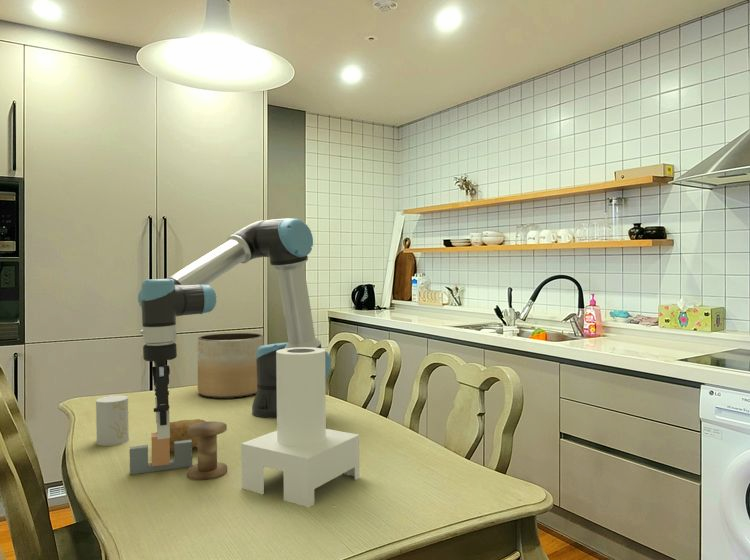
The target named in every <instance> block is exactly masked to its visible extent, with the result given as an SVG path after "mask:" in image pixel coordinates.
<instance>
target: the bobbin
mask: <svg viewBox="0 0 750 560" xmlns="http://www.w3.org/2000/svg"><path fill="white" fill-rule="evenodd" d="M227 427H228V426H227V424H226V423H225V422H222V421H210V420H209V421H206V422H200V423H196V424H192V425H190V426H188V427H187V434H188V435H191V436H197V444H198V445H197V463H196V464H194V465H192V466H190V467H188V469H187V477H188V478H189V479H191V480H199V481H203V480H204V481H205V480H206V481H207V480H212V479H213V480H214V479H217V478H221V477H222V476H225V475H226V473H227V472H228V465H227V464H226V463H223V462H219V461H218V439H217V438H218V437H217V436H218V435H220V434H224V433H225V432H226V431H227V430H228V428H227Z"/></svg>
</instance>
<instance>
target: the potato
mask: <svg viewBox="0 0 750 560" xmlns="http://www.w3.org/2000/svg"><path fill="white" fill-rule="evenodd" d="M200 422H207V421H206V420H203V419H200V418H198V419H196V418H195V419H184V420H183V419H182V420H181V419H180V420H176V421H169V423H170V451H171V452H174V442H175V441H184V440H192V449H194V448H196V447H198V444H197V436H191V435H188V434H187V427H188V426H190V425H192V424H196V423H200Z"/></svg>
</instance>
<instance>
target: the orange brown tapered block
mask: <svg viewBox="0 0 750 560" xmlns="http://www.w3.org/2000/svg"><path fill="white" fill-rule="evenodd" d="M150 440H151V463H152V467H153V466H160V465H168V464H170V460H171V454H170V438H165V439H157V432H151V439H150Z"/></svg>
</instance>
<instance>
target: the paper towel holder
mask: <svg viewBox="0 0 750 560" xmlns="http://www.w3.org/2000/svg"><path fill="white" fill-rule="evenodd" d="M325 351H326V349H325V348H323V347H321V348H313V347H296V348H285V349H280V350H277V351H276V378H277V417H276V430H275V431H271V432H268V433H266V434H264V435H261V436H258V437H256V438H253V439H249V440H247V441H245V442H241V444H240V453H241V455H240V456H241V459H240V460H241V465H240V466H241V489H242V488H243V489H242V490H245V489H247V491H249V490H251V491H250V492H252V491H254V492H253V493H256V492H258V493H257V494H259V493H261V494H260V495H263V494H264V495H265V491H264V490H265V489H264V487H265V486H264V483H265V482H264V481H265V480H264V479H265V477H264V473H265V472H264V467H265V468H270V469H274V470H279V471H282V472H283V501H284V500H286V501H285V502H287V501H289V502H288V503H291V502H293V503H292V504H294V503H296V504H295V505H298V504H300V505H299V506H302V505H304V506H303V507H305V506H308V507H307V508H310V507H311V505H312V504H313V505H315V489H317V488H319V487H321V486H323V485H324V484H327V483H328V482H330V481H331V480H333V479H335V478H337V477H339V476H342V475H346V474H349V475H348V476H350V475H353V476H352V477H354V480H355V479H356V480H358V479H359V477H360V475H361V474H360V468H361V467H360V434H357V433H351V432H346V431H341V430H335V429H331V428H326V427H327V426H326V425H327V424H326V421H327V418H326V415H327V414H326V412H327V410H326V407H327V406H326V405H327V404H326V401H327V400H326V380H325ZM343 473H344V474H343ZM357 478H358V479H357ZM360 478H361V477H360ZM313 505H312V506H313ZM309 506H310V507H309Z"/></svg>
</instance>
